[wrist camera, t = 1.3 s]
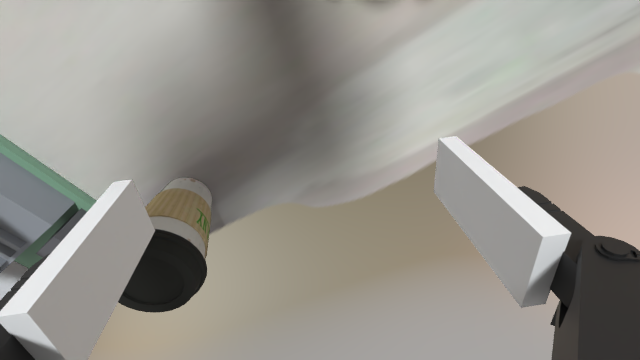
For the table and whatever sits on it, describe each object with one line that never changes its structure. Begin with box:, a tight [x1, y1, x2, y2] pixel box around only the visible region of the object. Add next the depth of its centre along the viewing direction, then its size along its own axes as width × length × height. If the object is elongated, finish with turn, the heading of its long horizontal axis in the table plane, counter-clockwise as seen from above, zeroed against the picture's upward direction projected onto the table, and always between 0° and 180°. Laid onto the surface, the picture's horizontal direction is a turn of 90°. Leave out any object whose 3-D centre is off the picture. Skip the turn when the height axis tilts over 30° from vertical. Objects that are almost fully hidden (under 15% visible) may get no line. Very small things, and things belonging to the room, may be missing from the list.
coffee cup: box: [118, 177, 212, 312], centre depth 38 cm, size 10×10×15 cm
